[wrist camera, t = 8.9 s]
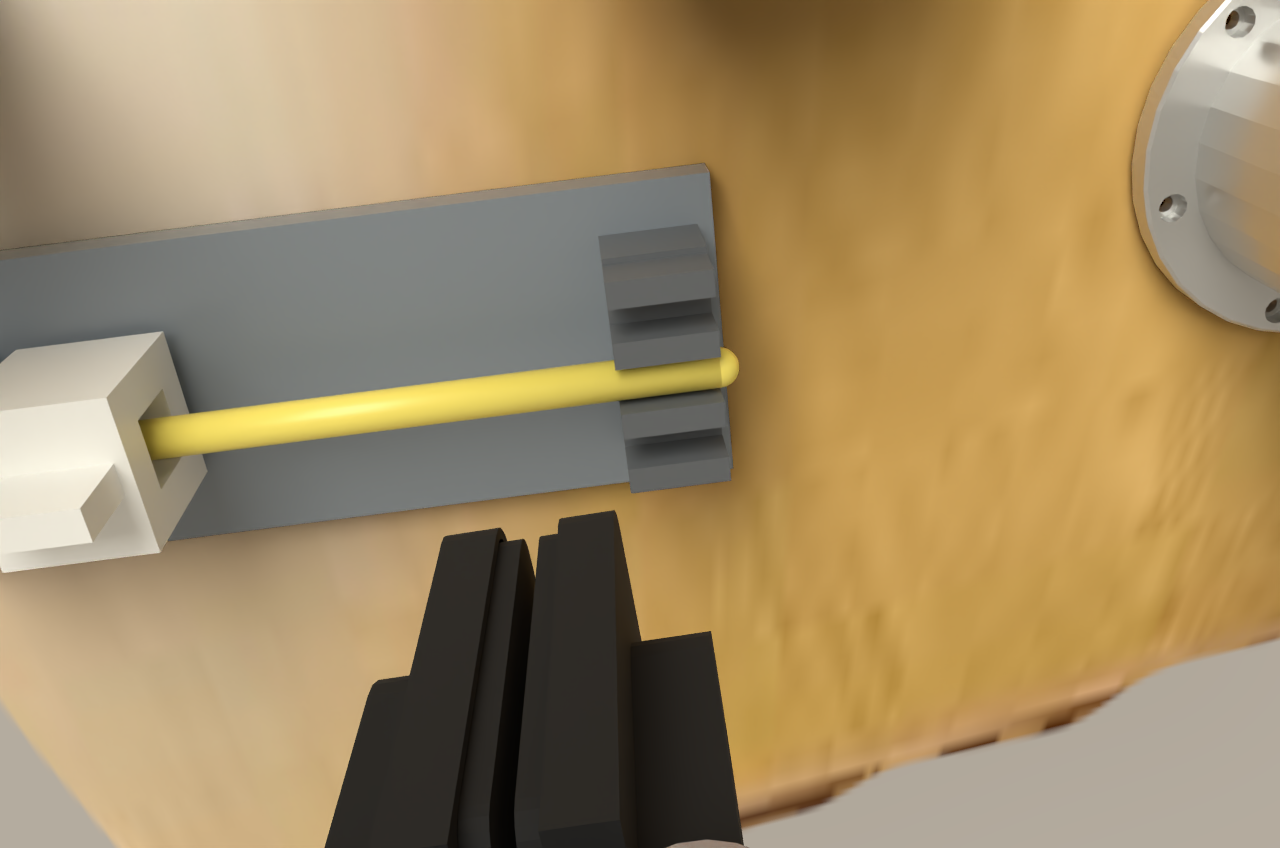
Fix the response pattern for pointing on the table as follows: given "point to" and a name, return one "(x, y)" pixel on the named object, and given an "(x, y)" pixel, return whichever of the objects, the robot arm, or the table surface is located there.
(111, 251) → the board
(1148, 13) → the table surface
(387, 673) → the table surface
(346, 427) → the fibre cord
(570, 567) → the robot arm
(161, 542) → the sleeve
